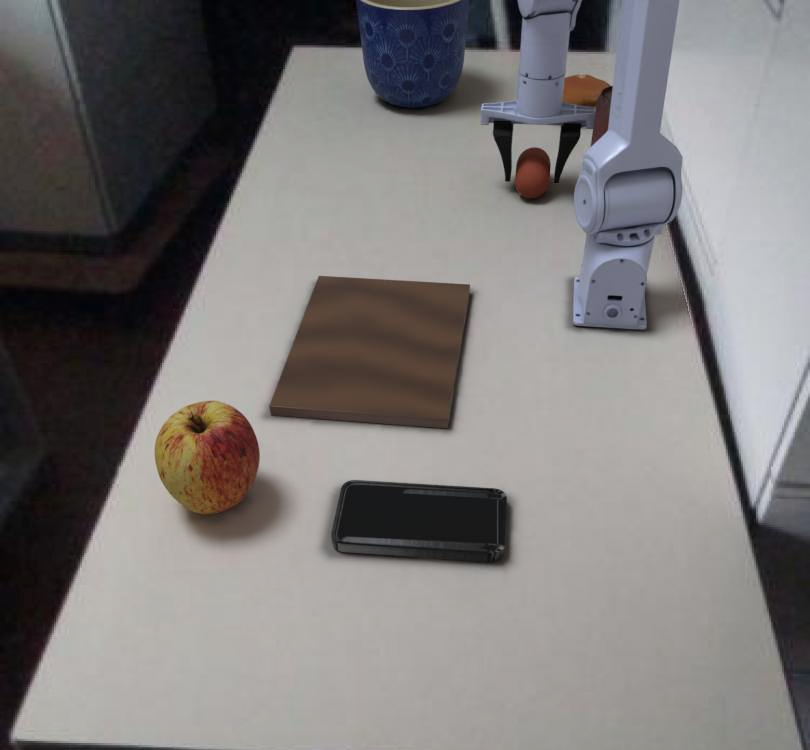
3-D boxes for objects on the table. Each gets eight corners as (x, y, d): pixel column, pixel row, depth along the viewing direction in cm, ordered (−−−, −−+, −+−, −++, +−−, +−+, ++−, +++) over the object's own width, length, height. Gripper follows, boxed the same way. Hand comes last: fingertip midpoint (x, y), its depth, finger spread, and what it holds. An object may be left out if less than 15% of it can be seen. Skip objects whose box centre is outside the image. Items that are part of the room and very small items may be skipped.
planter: (354, 82, 142) (347, -24, 130) (454, 72, 144) (456, -34, 132) (370, 124, 131) (364, 13, 119) (478, 113, 133) (482, 2, 121)
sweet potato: (547, 205, 113) (550, 171, 110) (512, 204, 114) (515, 170, 110) (549, 175, 119) (552, 141, 115) (516, 173, 119) (518, 140, 116)
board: (447, 428, 84) (447, 419, 83) (270, 415, 86) (269, 406, 85) (469, 293, 100) (470, 284, 99) (319, 284, 102) (318, 275, 101)
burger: (559, 130, 128) (562, 97, 124) (538, 105, 134) (541, 73, 131) (620, 122, 129) (625, 89, 126) (597, 98, 135) (601, 66, 132)
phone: (504, 554, 72) (329, 542, 73) (503, 563, 73) (330, 551, 74) (507, 488, 77) (343, 478, 78) (506, 496, 78) (344, 486, 79)
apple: (246, 542, 75) (226, 459, 68) (152, 526, 77) (121, 443, 69) (280, 471, 81) (264, 388, 73) (191, 457, 82) (167, 374, 75)
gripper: (601, 60, 107) (586, 167, 117) (485, 57, 108) (481, 163, 119) (602, 82, 102) (586, 192, 112) (481, 79, 104) (476, 187, 114)
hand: (532, 179), depth 115 cm, fingers open, 6 cm apart
